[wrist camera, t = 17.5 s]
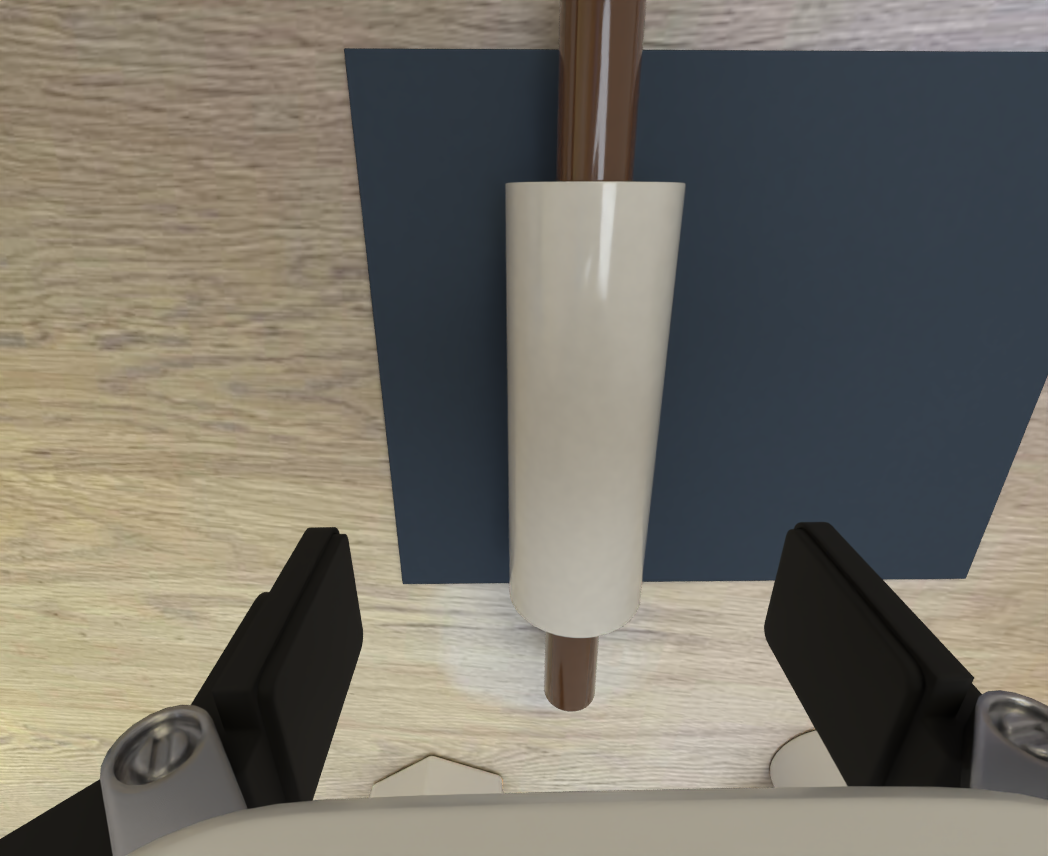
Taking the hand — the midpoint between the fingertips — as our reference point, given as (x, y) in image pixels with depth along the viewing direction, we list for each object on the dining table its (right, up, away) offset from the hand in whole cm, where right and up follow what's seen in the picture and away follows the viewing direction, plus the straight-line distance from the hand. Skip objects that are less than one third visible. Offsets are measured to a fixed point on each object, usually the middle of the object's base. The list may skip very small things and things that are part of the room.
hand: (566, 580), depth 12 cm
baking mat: (+7, +6, +11) cm, 14 cm away
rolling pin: (0, +5, +11) cm, 12 cm away
